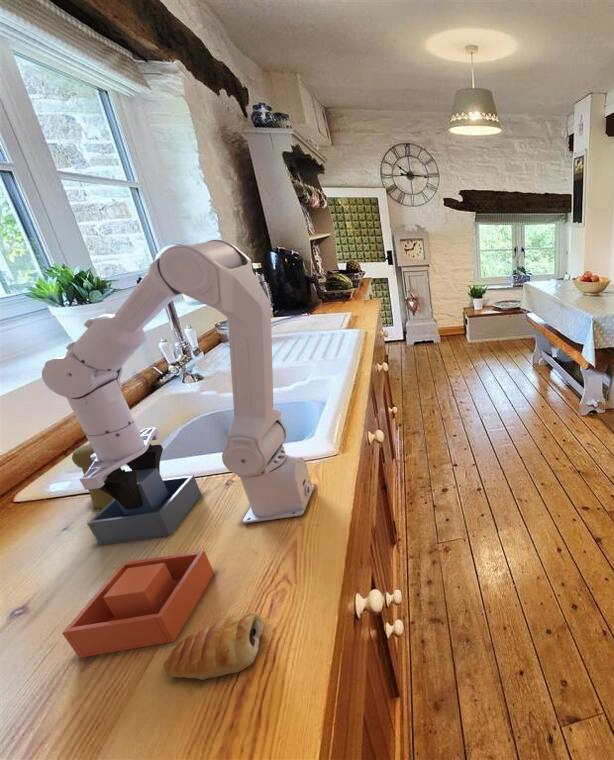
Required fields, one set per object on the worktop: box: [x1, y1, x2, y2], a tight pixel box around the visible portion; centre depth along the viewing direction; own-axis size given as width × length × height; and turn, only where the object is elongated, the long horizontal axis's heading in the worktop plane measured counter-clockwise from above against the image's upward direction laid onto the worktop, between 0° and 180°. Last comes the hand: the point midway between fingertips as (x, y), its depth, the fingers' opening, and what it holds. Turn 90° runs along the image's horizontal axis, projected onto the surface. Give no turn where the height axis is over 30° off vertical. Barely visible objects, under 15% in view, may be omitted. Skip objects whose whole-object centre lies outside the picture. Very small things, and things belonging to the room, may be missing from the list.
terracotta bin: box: [61, 550, 215, 659], centre depth 53 cm, size 10×10×4 cm
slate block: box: [116, 468, 169, 515], centre depth 68 cm, size 4×4×6 cm
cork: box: [71, 443, 114, 509], centre depth 74 cm, size 6×6×11 cm
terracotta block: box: [103, 563, 176, 620], centre depth 52 cm, size 4×4×6 cm
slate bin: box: [87, 475, 203, 546], centre depth 69 cm, size 10×10×4 cm
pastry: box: [162, 610, 265, 681], centre depth 47 cm, size 9×7×4 cm
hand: (144, 497), depth 68 cm, fingers closed on slate block, 4 cm apart
